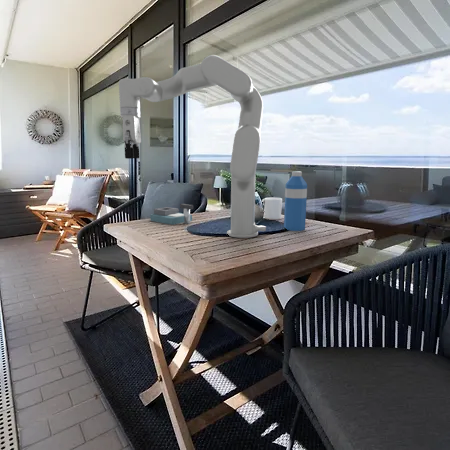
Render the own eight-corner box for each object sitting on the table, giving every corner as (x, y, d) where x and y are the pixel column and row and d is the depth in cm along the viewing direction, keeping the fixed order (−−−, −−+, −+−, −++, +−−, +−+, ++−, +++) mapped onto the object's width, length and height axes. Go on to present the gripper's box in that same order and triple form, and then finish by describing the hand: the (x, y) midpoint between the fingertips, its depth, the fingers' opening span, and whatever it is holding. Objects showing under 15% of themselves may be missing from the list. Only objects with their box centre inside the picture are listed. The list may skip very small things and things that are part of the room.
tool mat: (187, 215, 165) (187, 214, 165) (176, 217, 160) (176, 216, 160) (178, 214, 169) (178, 213, 169) (167, 215, 163) (167, 215, 163)
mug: (284, 218, 176) (285, 198, 173) (277, 220, 168) (278, 200, 166) (265, 216, 181) (265, 196, 179) (257, 218, 174) (257, 198, 172)
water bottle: (281, 229, 147) (283, 171, 142) (286, 225, 156) (288, 170, 151) (303, 231, 144) (306, 172, 139) (306, 227, 152) (309, 171, 147)
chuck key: (194, 223, 160) (194, 205, 158) (190, 224, 157) (189, 205, 156) (184, 222, 164) (183, 203, 162) (179, 223, 162) (179, 204, 160)
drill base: (192, 220, 168) (192, 209, 166) (172, 224, 158) (172, 213, 157) (168, 216, 179) (167, 206, 177) (148, 220, 169) (147, 209, 168)
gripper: (134, 110, 123) (137, 158, 127) (144, 116, 140) (146, 158, 144) (114, 110, 123) (116, 158, 126) (126, 115, 140) (128, 158, 143)
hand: (132, 158), depth 135 cm, fingers open, 9 cm apart
